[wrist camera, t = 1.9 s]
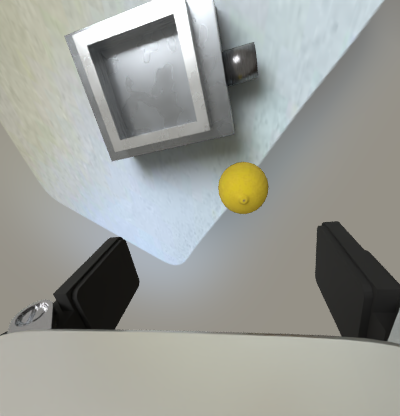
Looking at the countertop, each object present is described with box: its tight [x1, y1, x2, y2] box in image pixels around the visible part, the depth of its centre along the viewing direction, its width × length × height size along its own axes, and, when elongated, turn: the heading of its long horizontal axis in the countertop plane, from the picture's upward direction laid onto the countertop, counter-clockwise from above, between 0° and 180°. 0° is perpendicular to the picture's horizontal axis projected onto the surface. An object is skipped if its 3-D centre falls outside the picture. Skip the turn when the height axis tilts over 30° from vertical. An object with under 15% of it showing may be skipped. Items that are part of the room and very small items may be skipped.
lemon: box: [218, 162, 268, 214], centre depth 25 cm, size 6×6×8 cm
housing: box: [64, 0, 258, 161], centre depth 22 cm, size 17×12×7 cm
